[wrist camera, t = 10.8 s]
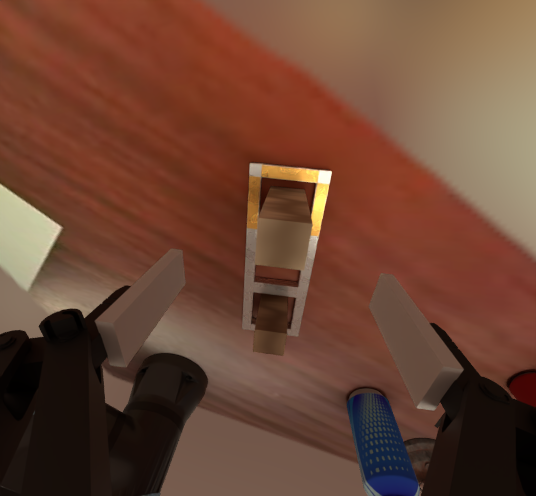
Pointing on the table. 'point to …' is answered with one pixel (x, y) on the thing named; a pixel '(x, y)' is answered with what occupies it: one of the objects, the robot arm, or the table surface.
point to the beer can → (380, 446)
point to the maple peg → (284, 229)
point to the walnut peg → (271, 325)
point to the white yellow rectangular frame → (254, 200)
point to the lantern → (420, 456)
